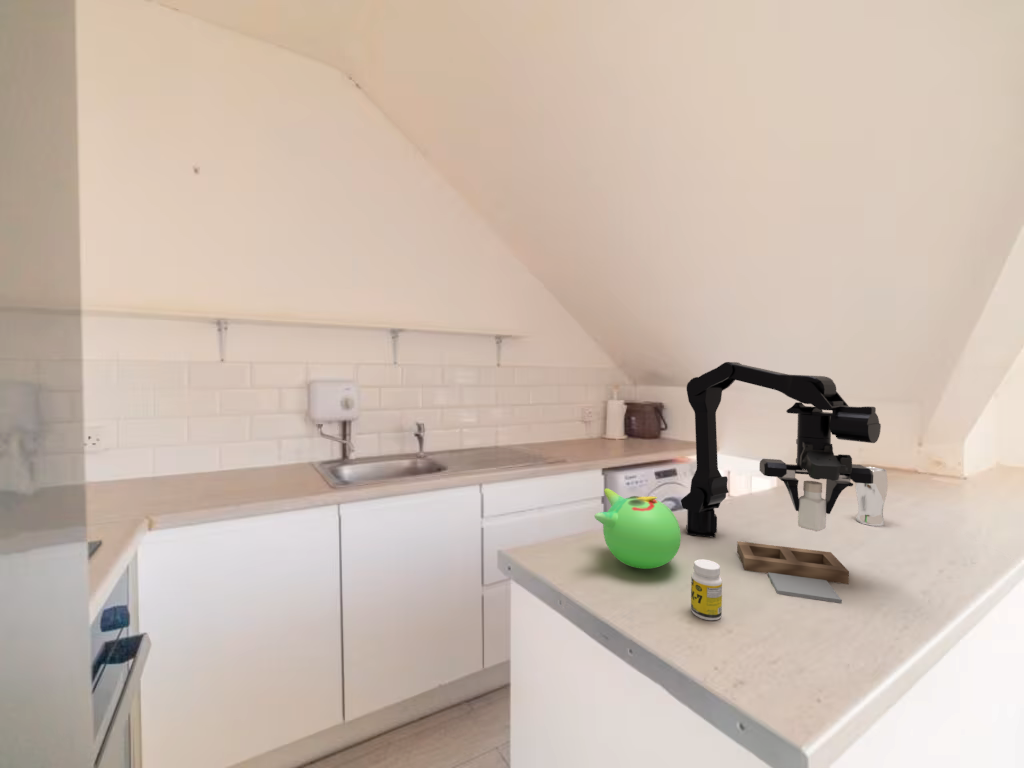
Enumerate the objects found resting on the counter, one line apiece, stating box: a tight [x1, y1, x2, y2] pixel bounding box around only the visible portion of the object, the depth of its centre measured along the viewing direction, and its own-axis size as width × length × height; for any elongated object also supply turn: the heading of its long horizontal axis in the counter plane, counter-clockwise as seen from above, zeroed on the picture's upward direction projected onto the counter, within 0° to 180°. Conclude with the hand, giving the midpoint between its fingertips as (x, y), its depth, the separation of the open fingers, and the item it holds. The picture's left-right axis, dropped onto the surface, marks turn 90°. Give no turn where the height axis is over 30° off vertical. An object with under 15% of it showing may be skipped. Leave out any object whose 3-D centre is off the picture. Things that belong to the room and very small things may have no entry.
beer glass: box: [854, 465, 889, 527], centre depth 122 cm, size 7×7×15 cm
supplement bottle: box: [690, 558, 723, 621], centre depth 74 cm, size 5×5×8 cm
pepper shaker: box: [797, 480, 827, 532], centre depth 91 cm, size 4×4×10 cm
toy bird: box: [594, 487, 682, 570], centre depth 94 cm, size 18×17×15 cm
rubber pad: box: [767, 572, 843, 604], centre depth 84 cm, size 10×8×1 cm
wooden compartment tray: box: [736, 540, 850, 585], centre depth 93 cm, size 18×10×2 cm, turn 71°
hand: (812, 512), depth 92 cm, fingers closed on pepper shaker, 5 cm apart
